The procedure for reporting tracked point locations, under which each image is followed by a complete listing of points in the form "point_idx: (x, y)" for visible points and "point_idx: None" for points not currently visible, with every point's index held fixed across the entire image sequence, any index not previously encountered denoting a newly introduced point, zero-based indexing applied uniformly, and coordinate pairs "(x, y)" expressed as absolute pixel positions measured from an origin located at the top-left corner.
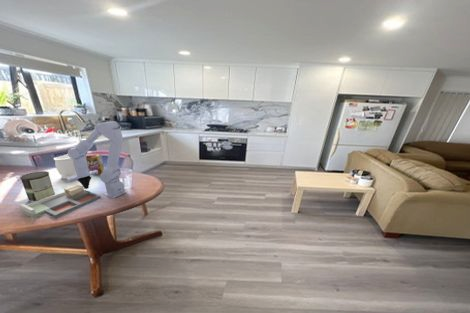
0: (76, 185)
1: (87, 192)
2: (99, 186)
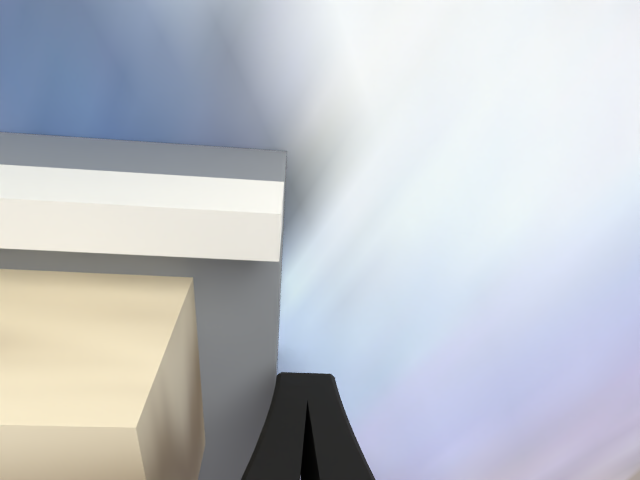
0: (97, 469)
1: (234, 466)
2: (569, 284)
